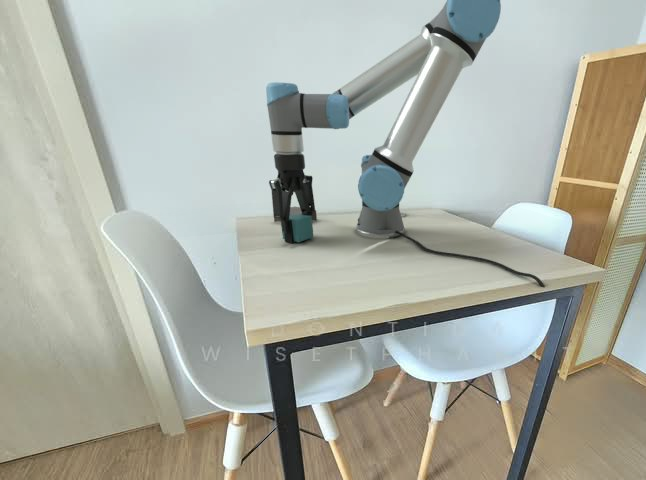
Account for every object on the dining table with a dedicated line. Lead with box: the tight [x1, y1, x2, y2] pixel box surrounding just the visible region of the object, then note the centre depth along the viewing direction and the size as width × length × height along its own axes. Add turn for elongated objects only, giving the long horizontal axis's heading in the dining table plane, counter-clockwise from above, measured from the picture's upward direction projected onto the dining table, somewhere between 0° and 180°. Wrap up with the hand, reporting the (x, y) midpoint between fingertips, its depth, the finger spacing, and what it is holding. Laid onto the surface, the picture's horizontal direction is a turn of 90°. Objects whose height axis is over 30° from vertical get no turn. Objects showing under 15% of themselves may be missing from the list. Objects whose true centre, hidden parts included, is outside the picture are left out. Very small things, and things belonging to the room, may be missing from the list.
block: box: [280, 214, 314, 243], centre depth 100 cm, size 6×6×6 cm
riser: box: [273, 206, 318, 223], centre depth 122 cm, size 10×10×4 cm
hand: (298, 240), depth 102 cm, fingers closed on block, 6 cm apart
